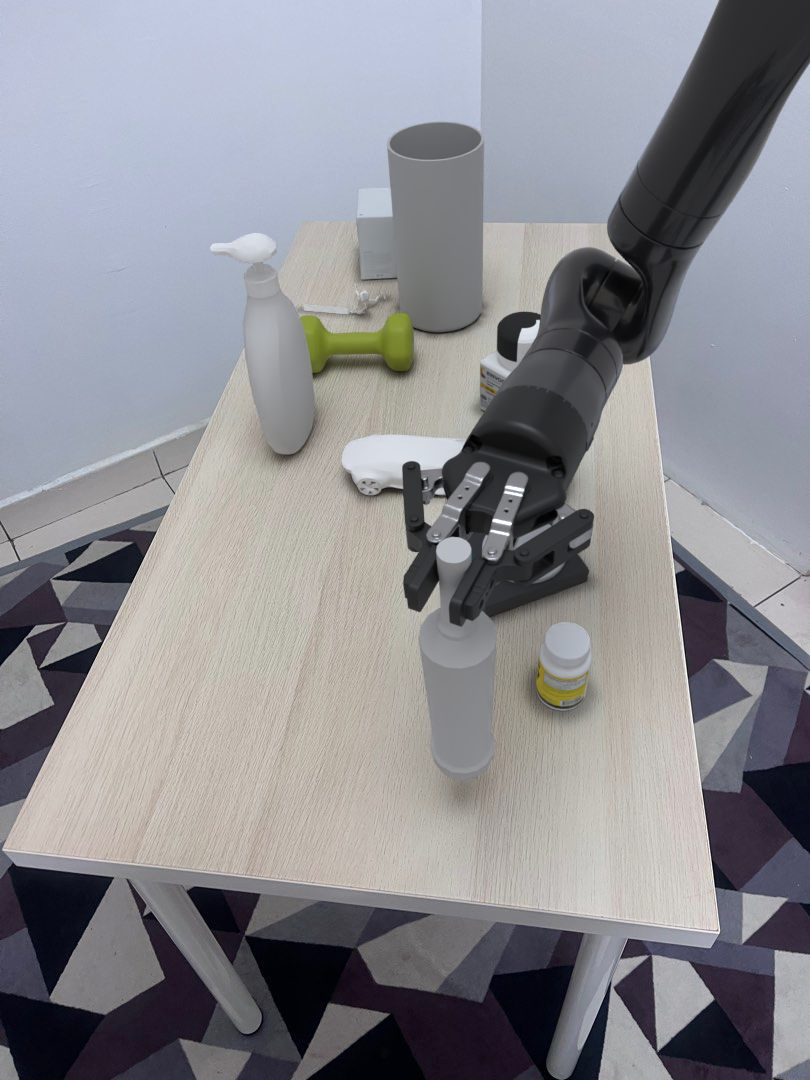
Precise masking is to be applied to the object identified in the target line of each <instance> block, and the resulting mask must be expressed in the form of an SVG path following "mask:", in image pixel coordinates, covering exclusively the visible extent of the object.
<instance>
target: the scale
mask: <svg viewBox="0 0 810 1080" xmlns="http://www.w3.org/2000/svg"><path fill="white" fill-rule="evenodd" d="M552 523H553V522H552ZM552 523H550V524H548V525H546V526H543V527H541V528H539V529H537V530H535V531H533V532H530V533H528V534H526V535H524V536H522V537H519V540H518V542H517V545H516V548H517V547H519V546H520V545H522V544H524V543H525V542H527V541H529V540H530V539H532V538H533V537H535V536H537V535H538V534H540V533H541V532H543V531H545V530H546V529H548V528H550V527H551V526H552ZM487 537H488V536H487V535H486V534H484V533H475V532H473V534H472V535H471V537H470V538H469V539H468V541H467V542H468V543H469V544H470V547H471V556H472V560H473V559H474V557H475V558H478V559H479V558H480V557H481V555H482V549H483V547H484V544H485V542H486V540H487ZM516 548H515V549H516ZM589 574H590V568H589V567H588V565H587V564H586V563H585V562H584V560H583V559H582V557H581V556H580V554H577V555H576V556H574V557H572V558H571V559H569V560H568V561H566V562H565V563H563V564H562V565H560V566H559V567H557V568H555V569H554V570H552V571H551V572H549V573H548V574H546V575H545V576H543V577H541V578H540V579H538V580H537V581H535V582H534V583H532V584H531V585H529V586H527V587H520V586H517V585H516V584H515V583H514V581H501V582H500V583H499V584H497V585H495V586H494V588H493V590H492V592H491V594H490V596H489V598H488V600H487V602H486V603H485V605H484V607H483V609H482V611H483V612H484V613H485V614H486V615H487V616H488V617H489V618H491V617H494V616H497V615H499V614H502V613H504V612H507V611H510V610H513V609H516V608H518V607H521V606H524V605H526V604H530V603H531V602H534V601H537V600H540V599H542V598H546V597H548V596H551V595H553V594H556V593H558V592H559V593H560V592H561V591H565V590H568V589H569V588H573V587H575V586H577V585H580V584H584V583H587V582H588V580H589Z"/></svg>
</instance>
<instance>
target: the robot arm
mask: <svg viewBox="0 0 810 1080" xmlns="http://www.w3.org/2000/svg"><path fill="white" fill-rule="evenodd" d="M809 66H810V0H718V1H717V4H716V6H715V8H714V11H713V13H712V16H711V18H710V20H709V22H708V25H707V27H706V29H705V31H704V34H703V36H702V38H701V40H700V43H699V44H698V46H697V48H696V51H695V53H694V55H693V57H692V59H691V61H690V63H689V65H688V67H687V70H686V71H685V73H684V76H683V78H682V79H681V81H680V83H679V84H678V87H677V89H676V92H675V93H674V94H673V97H672V98H671V101H670V102H669V103H668V106H667V108H666V110H665V112H664V113H663V116H662V117H661V119H660V121H659V123H658V124H657V125H656V128H655V130H654V131H653V134H652V135H651V137H650V139H649V141H648V143H647V144H646V146H645V147H644V149H643V151H642V153H641V154H640V157H639V158H638V160H637V162H636V164H635V166H634V167H633V170H631V171H632V172H631V173H630V175H629V177H628V179H627V181H626V183H625V184H624V186H623V188H622V190H621V192H620V193H619V195H618V197H617V199H616V201H615V203H614V204H613V207H612V208H611V210H610V213H609V214H608V215H609V216H608V218H607V224H606V234H607V236H608V240H609V242H610V243H611V245H612V247H613V248H614V250H615V251H616V252H617V253H618V254H619V256H621V257H622V259H624V261H625V262H624V261H623V260H621V259H617V258H616V257H615V256H613V255H612V254H610V253H608V252H606V251H604V250H602V249H600V248H597V247H593V246H584V247H579V248H576V249H574V250H572V251H570V252H568V253H566V254H565V255H564V256H563V257H561V259H560V260H559V261H558V262H557V264H556V265H555V266H554V268H553V270H552V271H551V274H550V276H549V277H548V280H547V283H546V285H545V289H544V292H543V297H542V301H541V306H540V324H539V330H538V334H537V336H536V338H535V340H534V341H533V343H532V345H531V347H530V348H529V350H528V351H527V353H526V354H525V356H524V357H523V359H522V360H521V362H520V364H519V365H518V366H517V367H516V368H515V369H514V370H513V371H512V372H511V373H510V374H509V376H508V377H507V378H506V379H505V381H504V382H503V384H502V385H501V387H500V388H499V390H498V391H497V393H496V395H495V396H494V398H493V399H492V401H491V402H490V404H489V405H488V407H487V408H486V410H485V411H484V412H483V413H482V415H480V418H478V421H477V422H476V424H475V425H474V426H473V428H472V430H471V432H470V433H469V435H468V436H467V438H466V439H467V440H466V442H465V444H464V446H463V448H462V450H461V452H460V453H459V454H458V455H456V456H455V457H453V458H451V459H449V460H448V461H447V462H446V463H445V464H444V465H443V468H442V469H429V470H421V469H420V464H419V463H418V462H415V461H408V462H406V463H404V464H403V466H402V476H403V489H402V491H403V492H402V494H403V515H404V525H405V526H404V527H405V535H406V536H405V537H406V546H407V549H408V550H409V551H410V552H413V553H416V556H415V557H414V559H413V560H412V562H411V564H409V567H408V569H406V572H405V573H404V575H403V581H402V584H403V593H404V598H405V599H406V603H407V608H408V609H409V610H412V611H415V612H417V613H421V612H422V611H423V609H424V608H425V606H426V604H427V602H428V601H429V599H430V597H431V596H432V594H433V592H434V590H435V589H436V587H437V585H439V575H438V572H437V557H436V549H437V545H438V544H439V543H440V542H441V541H442V540H444V539H446V538H450V537H459V538H462V539H464V540H466V541H468V539H469V538H470V537H471V535H472V534H473V532H475V533H484V534H486V535H487V536H488V537H487V540H486V542H485V544H484V547H483V549H482V555H481V557H480V558H479V559H478V558H475V557H474V559H473V560H472V562H471V564H470V566H469V568H468V569H467V571H466V573H465V575H464V577H463V578H462V580H461V582H460V584H459V585H458V587H457V589H456V591H455V593H454V594H453V596H452V598H451V600H450V604H449V621H450V623H451V624H454V625H457V626H460V627H462V626H463V625H464V623H465V621H466V619H468V620H470V621H473V620H475V619H476V618H477V617H478V616H479V615H480V613H481V611H482V609H483V607H484V605H485V603H486V602H487V600H488V598H489V596H490V594H491V592H492V590H493V588H494V586H495V585H497V584H499V583H500V582H501V581H514V583H515V584H516V585H517V586H520V587H527V586H529V585H531V584H532V583H534V582H535V581H537V580H538V579H540V578H541V577H543V576H545V575H546V574H548V573H549V572H551V571H552V570H554V569H555V568H557V567H559V566H560V565H562V564H563V563H565V562H566V561H568V560H569V559H571V558H572V557H574V556H576V555H577V554H578V555H580V554H581V553H582V552H583V551H585V550H586V549H588V548H589V547H590V546H591V541H592V536H593V530H594V521H595V514H594V512H593V511H592V510H590V509H587V508H579V509H577V510H576V509H575V508H574V507H572V506H571V505H569V504H568V503H567V500H568V494H567V491H568V489H569V487H570V485H571V483H572V481H573V479H574V477H575V475H576V473H577V471H578V469H579V466H580V465H581V463H582V461H583V459H584V457H585V454H586V453H587V452H589V449H590V448H591V446H592V444H593V442H594V439H595V435H596V432H597V430H598V427H599V425H600V421H601V418H602V414H603V411H604V408H605V406H606V405H607V402H608V400H609V398H610V396H611V394H612V393H613V391H614V389H615V387H616V385H617V384H618V380H619V378H620V377H621V374H622V370H623V367H624V365H629V366H630V365H633V364H637V363H639V362H642V361H644V360H646V359H648V358H649V357H650V356H652V355H653V354H654V353H655V352H656V350H658V348H659V347H660V345H661V344H662V342H663V340H664V339H665V336H666V334H667V333H668V329H669V327H670V324H671V322H672V319H673V315H674V312H675V308H676V305H677V301H678V297H679V294H680V291H681V289H682V286H683V283H684V281H685V278H686V275H687V273H688V271H689V268H690V267H691V265H692V263H693V261H694V259H695V257H696V256H697V254H698V252H699V251H700V249H701V248H702V246H703V244H704V243H705V242H706V240H707V239H708V238H709V236H710V234H711V233H712V232H713V231H714V229H715V227H716V226H717V224H718V223H719V222H720V220H721V219H722V217H723V216H724V215H725V213H726V212H727V210H728V209H729V207H730V206H731V204H732V203H733V201H734V200H735V198H736V197H737V195H738V194H739V192H740V191H741V189H742V187H743V186H744V184H745V183H746V181H747V179H748V178H749V176H750V175H751V173H752V172H753V169H754V167H755V166H756V164H757V162H758V160H759V158H760V156H761V154H762V152H763V150H764V148H765V146H766V144H767V142H768V139H769V137H770V135H771V133H772V131H773V129H774V127H775V125H776V122H777V120H778V118H779V116H780V114H781V112H782V111H783V109H784V107H785V106H786V102H787V101H788V99H789V98H790V96H791V94H792V92H793V91H794V89H795V88H796V86H797V84H798V83H799V82H800V80H801V78H802V76H803V75H804V73H805V71H806V70H807V69H808V67H809ZM440 488H444V492H445V495H444V496H445V498H446V501H445V503H444V504H443V506H442V510H441V512H440V515H438V517H437V518H436V520H435V521H434V522H433V524H432V525H430V524H429V523H427V522H426V521H425V508H424V505H425V506H427V505H430V503H431V500H433V499H434V498H435V496H436V494H435V492H436V490H438V489H440ZM552 522H553V523H552ZM550 523H552V526H551V527H550V528H548V529H546V530H545V531H543V532H541V533H540V534H538V535H537V536H535V537H533V538H532V539H530V540H529V541H527V542H525V543H524V544H522V545H520V546H519V547H517V548H516V545H517V542H518V540H519V537H522V536H524V535H526V534H528V533H530V532H533V531H535V530H537V529H539V528H541V527H543V526H546V525H548V524H550ZM515 548H516V549H515Z"/></svg>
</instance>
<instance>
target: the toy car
mask: <svg viewBox="0 0 810 1080" xmlns="http://www.w3.org/2000/svg"><path fill="white" fill-rule="evenodd" d="M466 440H467V438H450V437H434V436H424V435H411V434H397V433H396V434H395V433H394V434H393V433H392V434H390V433H389V434H371V435H368V436H363V437H360V438H357V439H353V440H350V441H349V442H348V443H347V444H346V445H345V446H344V449H343V451H342V455H341V464H342V466H343V468H344V470H345V472H347V473H348V474H351V477H352V481H353V482H354V484H355V485H356V487H357V489H358V491H359V492H360V493H361V494H363V495H366V496H376V495H378V494H380V492H381V491H382V489H385V488H395V489H399V490H400V489H401V490H403V476H402V466H403V464H404V463H406V462H408V461H415V462H418V463H419V464H420V469H421V470H429V469H442V468H443V465H444V464H445V463H446V462H447V461H448V460H449V459H451V458H453V457H455V456H456V455H458V454H459V453H460V452H461V450H462V448H463V446H464V444H465V442H466ZM435 495H440V496H446V495H445V492H444V488H440V489H438V490H436V492H435Z"/></svg>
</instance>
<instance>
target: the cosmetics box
mask: <svg viewBox="0 0 810 1080" xmlns="http://www.w3.org/2000/svg"><path fill="white" fill-rule="evenodd" d="M355 219H356V231H357V232H356V233H357V241H358V251H359V253H358V254H359V265H360V266H359V267H360V279H361V280H362V281H363V280H379V279H397V266H396V253H395V240H394V228H393V215H392V202H391V189H390V186H389V187H364V188H363V187H362V188H358V189H357V201H356V216H355Z"/></svg>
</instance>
